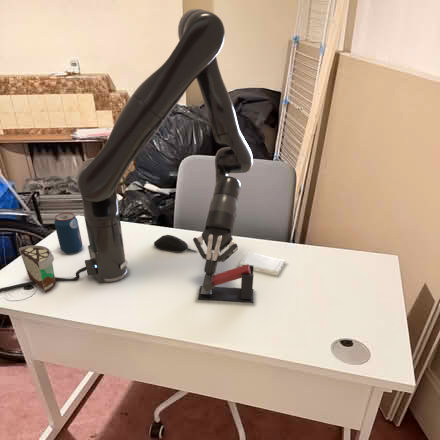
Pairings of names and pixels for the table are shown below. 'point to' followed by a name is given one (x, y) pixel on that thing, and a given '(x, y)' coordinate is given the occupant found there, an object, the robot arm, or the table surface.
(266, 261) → the hard drive
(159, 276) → the table surface
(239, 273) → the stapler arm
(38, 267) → the food container
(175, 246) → the gaming mouse
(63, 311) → the table surface
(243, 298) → the stapler base
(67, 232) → the soda can
